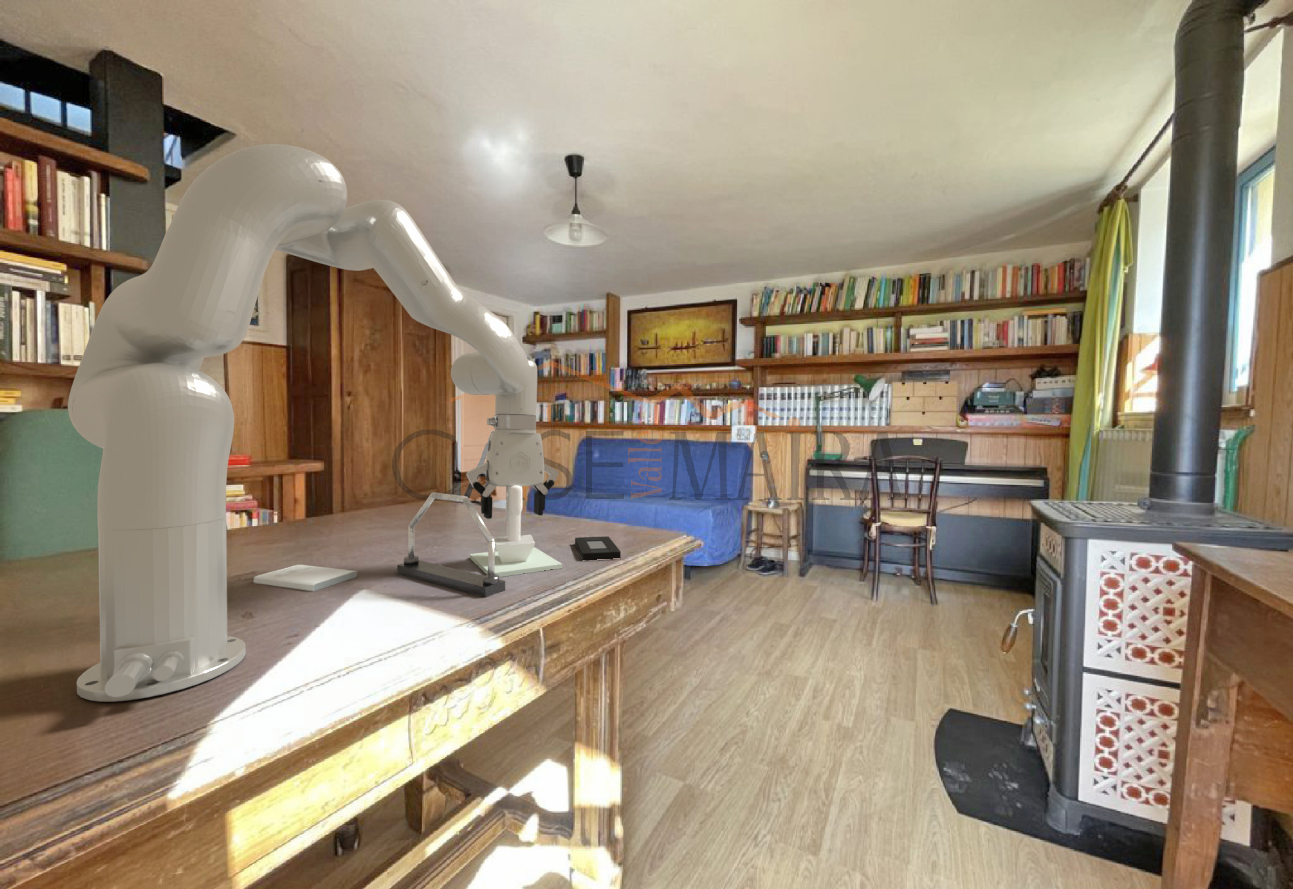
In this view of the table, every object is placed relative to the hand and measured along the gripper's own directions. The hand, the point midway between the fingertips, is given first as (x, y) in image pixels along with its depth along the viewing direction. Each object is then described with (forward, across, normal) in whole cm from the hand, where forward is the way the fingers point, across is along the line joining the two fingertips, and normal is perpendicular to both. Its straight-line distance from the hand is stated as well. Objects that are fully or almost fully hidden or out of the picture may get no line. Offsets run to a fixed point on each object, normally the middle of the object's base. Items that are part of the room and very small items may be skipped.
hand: (513, 516), depth 96 cm
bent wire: (+9, -13, -6) cm, 17 cm away
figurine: (+8, 0, 0) cm, 8 cm away
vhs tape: (+10, +18, +1) cm, 21 cm away
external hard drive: (+10, -32, +6) cm, 35 cm away
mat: (+9, 0, 0) cm, 9 cm away
